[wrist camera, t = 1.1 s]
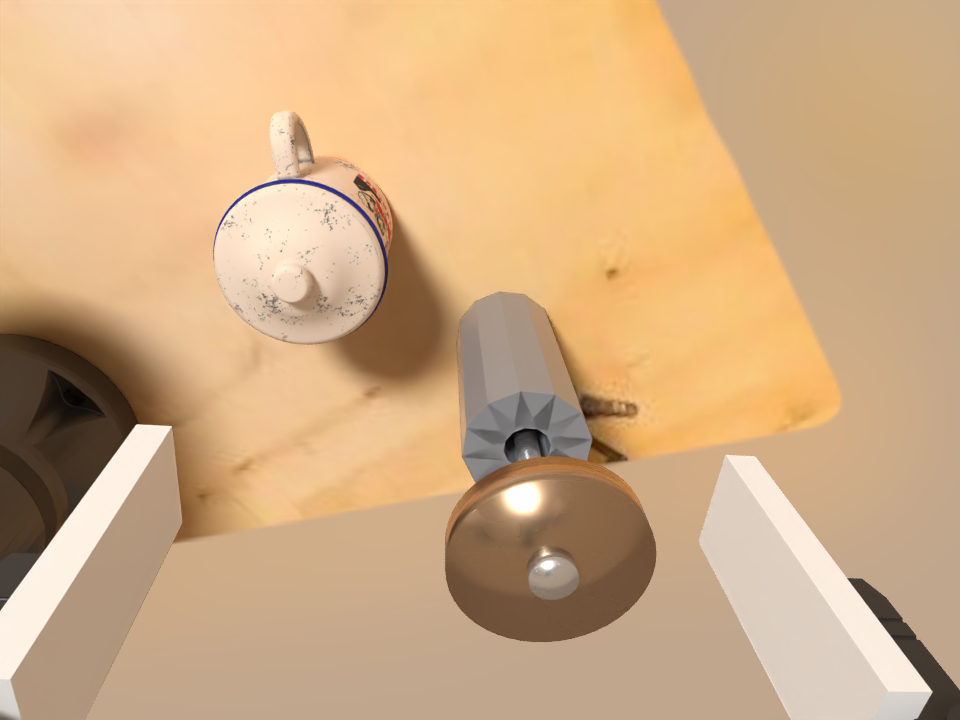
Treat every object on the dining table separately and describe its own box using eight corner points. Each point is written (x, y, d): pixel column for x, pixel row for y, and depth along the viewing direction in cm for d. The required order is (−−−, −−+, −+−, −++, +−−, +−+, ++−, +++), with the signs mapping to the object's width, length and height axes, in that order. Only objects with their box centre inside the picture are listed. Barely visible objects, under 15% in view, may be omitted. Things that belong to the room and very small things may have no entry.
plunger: (436, 455, 41) (434, 652, 28) (453, 325, 37) (459, 484, 25) (574, 466, 42) (633, 662, 29) (604, 341, 38) (687, 502, 25)
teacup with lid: (406, 282, 46) (395, 359, 35) (271, 297, 46) (221, 378, 35) (377, 93, 40) (354, 117, 30) (224, 109, 40) (149, 139, 30)
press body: (448, 407, 50) (450, 535, 38) (463, 287, 46) (472, 386, 34) (536, 415, 51) (567, 543, 38) (559, 298, 47) (602, 398, 34)
